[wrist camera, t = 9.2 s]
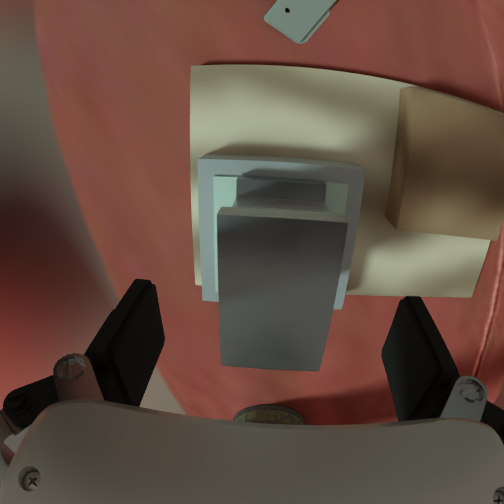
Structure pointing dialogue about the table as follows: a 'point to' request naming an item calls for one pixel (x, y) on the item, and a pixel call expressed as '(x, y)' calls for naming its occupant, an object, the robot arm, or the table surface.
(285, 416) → the thermos
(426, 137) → the stand
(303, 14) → the metal bracket
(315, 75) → the board
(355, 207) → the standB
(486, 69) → the table surface
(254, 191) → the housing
